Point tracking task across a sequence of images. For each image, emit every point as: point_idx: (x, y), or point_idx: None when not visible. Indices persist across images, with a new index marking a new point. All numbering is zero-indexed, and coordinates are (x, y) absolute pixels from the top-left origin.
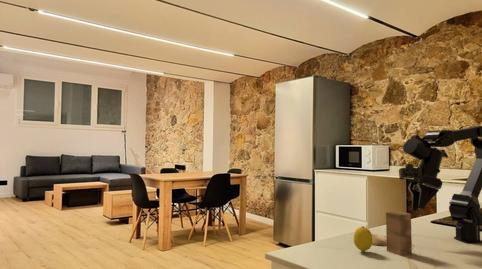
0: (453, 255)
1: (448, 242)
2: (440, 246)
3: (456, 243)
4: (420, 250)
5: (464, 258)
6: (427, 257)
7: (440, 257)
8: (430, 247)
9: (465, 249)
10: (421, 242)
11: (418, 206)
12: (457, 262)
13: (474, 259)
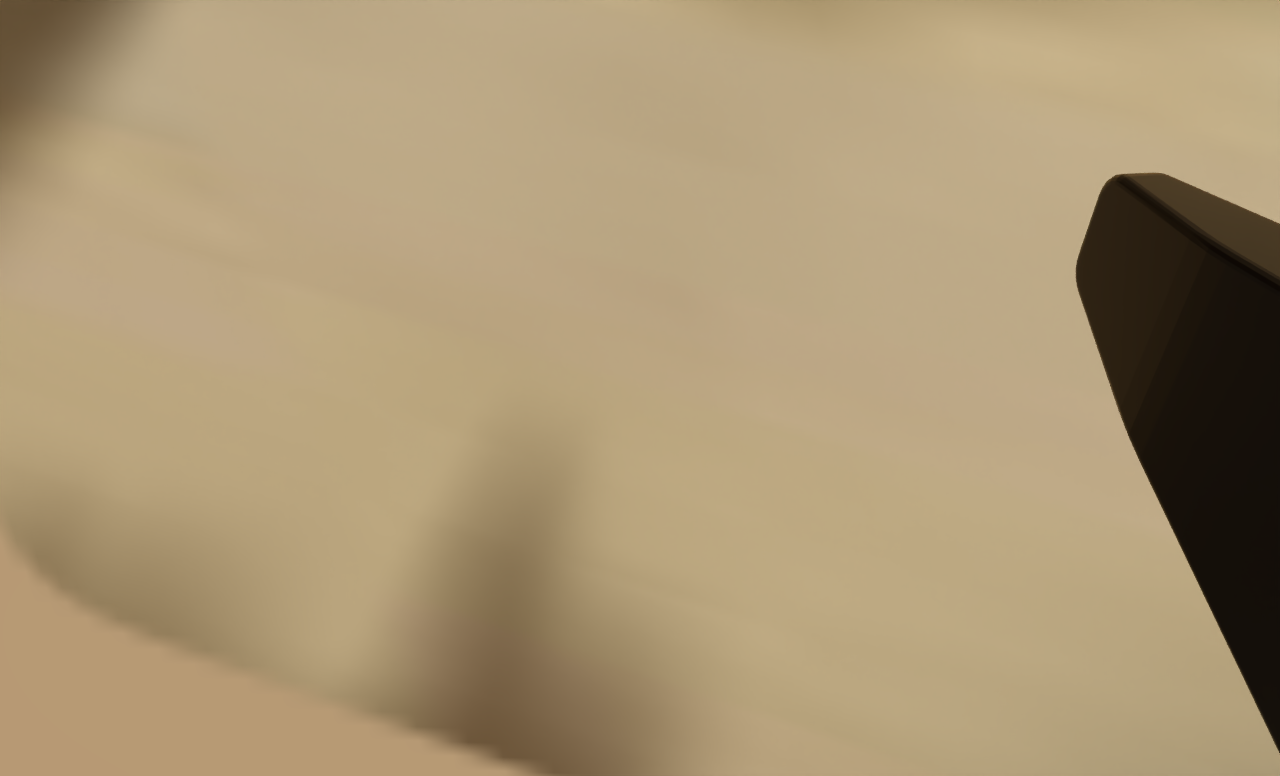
0: (335, 465)
1: (1103, 642)
2: (812, 447)
3: (1051, 728)
4: (462, 50)
5: (237, 548)
6: (77, 62)
7: (158, 258)
8: (709, 273)
9: (711, 718)
10: (1046, 210)
11: (1156, 462)
12: (9, 403)
13: (238, 643)
